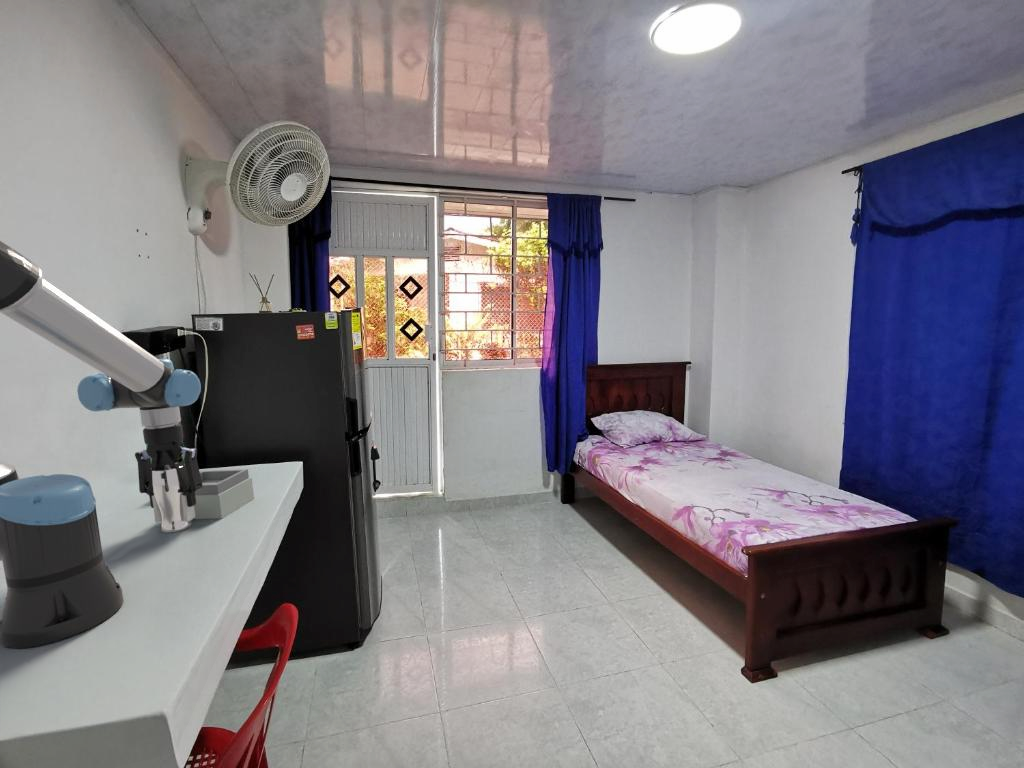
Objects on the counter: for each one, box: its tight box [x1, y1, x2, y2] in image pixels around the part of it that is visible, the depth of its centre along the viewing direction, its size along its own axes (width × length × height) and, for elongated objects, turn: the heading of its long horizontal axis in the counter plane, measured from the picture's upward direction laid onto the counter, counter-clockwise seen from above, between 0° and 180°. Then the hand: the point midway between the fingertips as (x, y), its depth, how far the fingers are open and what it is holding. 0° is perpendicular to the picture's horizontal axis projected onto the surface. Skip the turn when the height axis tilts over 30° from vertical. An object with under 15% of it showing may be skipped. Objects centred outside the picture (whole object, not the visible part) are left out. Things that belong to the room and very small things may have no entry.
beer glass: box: [151, 462, 193, 534], centre depth 118 cm, size 7×7×15 cm
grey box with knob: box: [192, 468, 255, 520], centre depth 130 cm, size 14×17×8 cm
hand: (175, 519), depth 119 cm, fingers closed on beer glass, 6 cm apart
